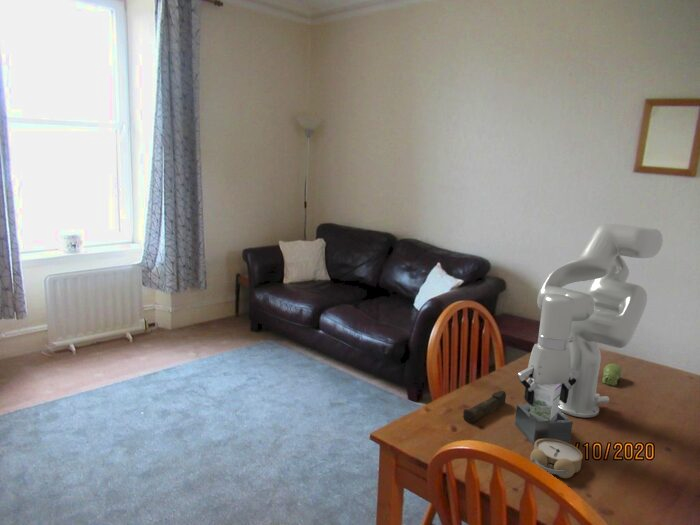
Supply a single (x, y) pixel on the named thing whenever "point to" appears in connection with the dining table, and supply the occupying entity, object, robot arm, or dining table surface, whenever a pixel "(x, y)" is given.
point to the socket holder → (542, 425)
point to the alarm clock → (557, 457)
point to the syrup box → (546, 402)
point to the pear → (612, 374)
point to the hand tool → (485, 407)
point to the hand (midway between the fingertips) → (545, 401)
